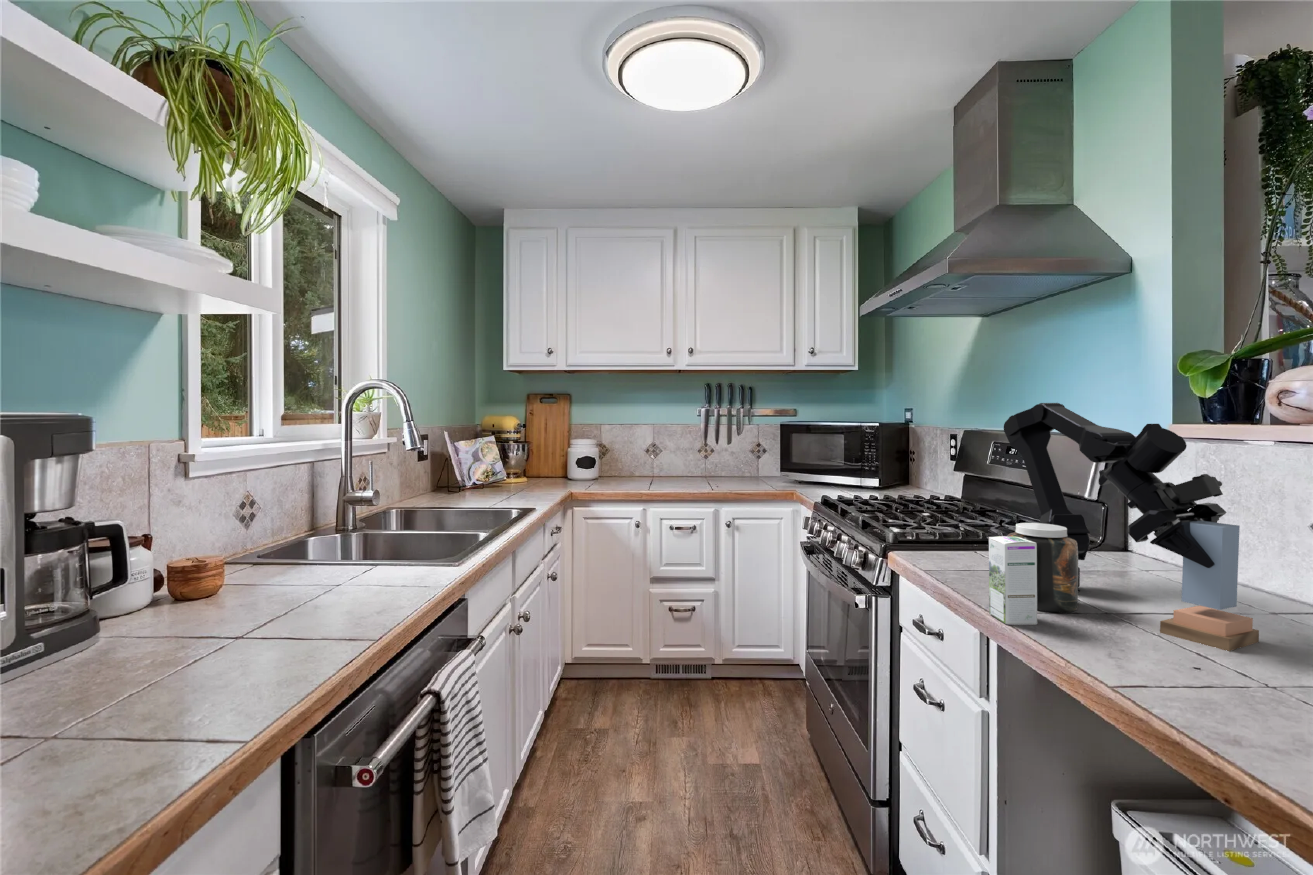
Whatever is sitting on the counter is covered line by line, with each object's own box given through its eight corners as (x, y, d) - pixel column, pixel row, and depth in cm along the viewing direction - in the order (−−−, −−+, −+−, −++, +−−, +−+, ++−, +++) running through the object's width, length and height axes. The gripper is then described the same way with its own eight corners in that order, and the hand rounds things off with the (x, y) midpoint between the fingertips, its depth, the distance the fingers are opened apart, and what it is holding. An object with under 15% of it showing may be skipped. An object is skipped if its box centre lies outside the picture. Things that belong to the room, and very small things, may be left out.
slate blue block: (1219, 610, 95) (1222, 527, 94) (1181, 601, 99) (1184, 522, 99) (1236, 606, 97) (1239, 525, 96) (1198, 597, 101) (1201, 520, 101)
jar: (1011, 609, 114) (1012, 529, 113) (1000, 592, 125) (1000, 520, 124) (1086, 615, 110) (1086, 533, 109) (1067, 597, 121) (1067, 522, 120)
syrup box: (1038, 625, 105) (1039, 541, 104) (1004, 625, 105) (1004, 542, 105) (1019, 614, 111) (1020, 535, 110) (987, 614, 111) (987, 535, 110)
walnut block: (1228, 655, 92) (1229, 638, 92) (1160, 635, 101) (1160, 621, 101) (1258, 645, 96) (1259, 630, 96) (1189, 627, 104) (1190, 613, 104)
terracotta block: (1225, 636, 93) (1225, 623, 93) (1173, 622, 100) (1173, 610, 100) (1252, 630, 96) (1252, 618, 96) (1199, 617, 102) (1200, 605, 102)
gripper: (1150, 460, 97) (1237, 541, 87) (1212, 456, 105) (1298, 530, 95) (1097, 503, 105) (1171, 581, 95) (1158, 496, 112) (1233, 568, 103)
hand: (1220, 564), depth 97 cm, fingers closed on slate blue block, 5 cm apart
